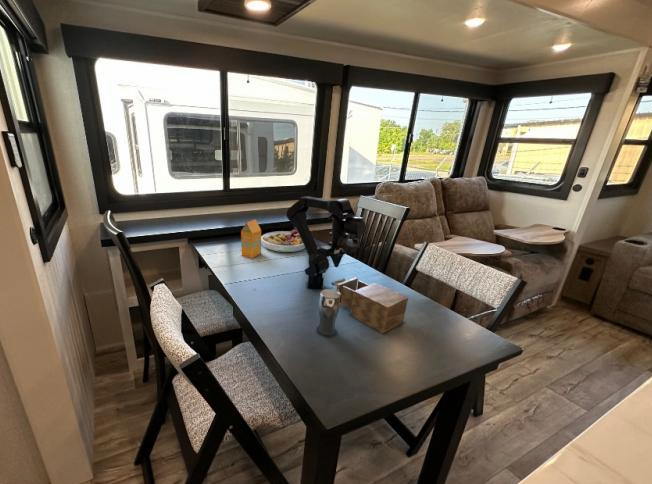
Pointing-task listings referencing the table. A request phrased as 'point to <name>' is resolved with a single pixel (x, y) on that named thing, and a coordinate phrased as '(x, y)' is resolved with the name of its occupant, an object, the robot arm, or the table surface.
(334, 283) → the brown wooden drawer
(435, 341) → the table surface
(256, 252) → the orange juice
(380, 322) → the wooden box
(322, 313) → the beer glass
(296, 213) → the robot arm
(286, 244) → the bowl
